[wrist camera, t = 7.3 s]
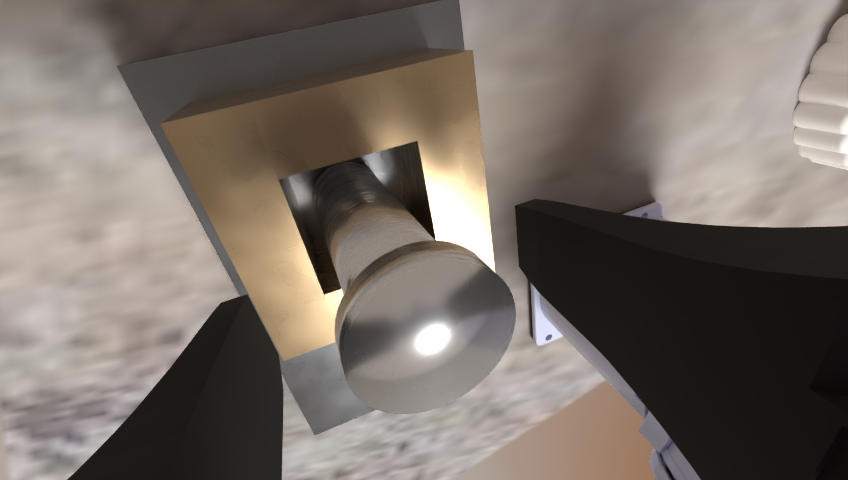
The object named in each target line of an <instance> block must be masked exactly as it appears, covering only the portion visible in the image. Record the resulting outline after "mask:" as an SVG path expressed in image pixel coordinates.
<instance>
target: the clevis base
mask: <svg viewBox="0 0 848 480" xmlns="http://www.w3.org/2000/svg"><path fill="white" fill-rule="evenodd" d="M117 67H118V69H119V71H120V73H121V75H122V77H123V78H124V80H125V82H126V84H127V86H128V88H129V90H130V91H131V93H132V95H133V97H134V99H135V101H136V103H137V105H138V106H139V108H140V110H141V112H142V114H143V116H144V118H145V119H146V121H147V123H148V125H149V127H150V129H151V131H152V133H153V134H154V136H155V138H156V140H157V142H158V144H159V146H160V147H161V149H162V151H163V153H164V155H165V157H166V159H167V161H168V162H169V164H170V166H171V168H172V170H173V172H174V174H175V175H176V177H177V179H178V181H179V183H180V185H181V187H182V188H183V190H184V192H185V194H186V196H187V198H188V200H189V202H190V203H191V205H192V207H193V209H194V211H195V213H196V215H197V216H198V218H199V220H200V222H201V224H202V226H203V228H204V230H205V231H206V233H207V235H208V237H209V239H210V241H211V243H212V244H213V246H214V248H215V250H216V252H217V254H218V256H219V258H220V259H221V261H222V263H223V265H224V267H225V269H226V271H227V272H228V274H229V276H230V278H231V280H232V282H233V284H234V286H235V287H236V289H237V291H238V293H239V295H240V296H243V295H246V294H248V296H249V298H250V300H251V302H252V304H253V306H254V308H255V310H256V312H257V314H258V315H259V317H260V319H261V321H262V323H263V325H264V327H265V329H266V331H267V333H268V335H269V337H270V339H271V340H272V342H273V344H274V346H275V348H276V350H277V352H278V354H279V359H280V367H281V373H282V375H283V377H284V379H285V381H286V383H287V384H288V386H289V388H290V390H291V392H292V394H293V396H294V397H295V399H296V401H297V403H298V405H299V407H300V409H301V410H302V412H303V414H304V416H305V418H306V420H307V422H308V424H309V425H310V427H311V429H312V431H313V433H314V435H317V434H319V433H321V432H324V431H326V430H329V429H331V428H333V427H336V426H338V425H341V424H343V423H345V422H348V421H350V420H352V419H355V418H357V417H360V416H362V415H364V414H367V413H369V412H372V411H374V410H376V409H374V408H372V407H370V406H368V405H367V404H365V403H364V402H362V401H361V400H360V399H359V398H358V397H357V396H356V395H354V393H353V392H352V390H351V389H350V388H349V386H348V383H347V381H346V379H345V375H344V371H343V367H342V364H341V360H340V356H339V352H338V348H337V344H336V340H335V331H334V327H335V318H336V314H337V310H338V307H339V304H340V302H341V299H342V297H343V296H344V294H343V292H342V289H341V286H340V283H339V280H338V277H337V274H336V271H335V268H334V265H333V262H332V259H331V256H330V253H329V250H328V247H327V244H326V241H325V238H324V236H323V233H322V230H321V227H320V224H319V221H318V218H317V215H316V212H315V209H314V206H313V202H312V191H313V187H314V184H315V182H316V180H317V178H318V177H319V176H320V174H321V173H322V172H323V171H325V170H326V169H327V168H329V167H330V166H332V165H335V164H338V163H342V162H354V163H358V164H361V165H363V166H365V167H367V168H368V169H370V170H371V171H372V172H373V173H374V174H375V175H376V176H377V177H378V179H379V180H380V181H381V182H382V183H383V184H384V185H385V186H386V187H387V188H388V189H389V191H390V192H391V193H392V194H393V195H394V196H395V197H396V198H397V199H398V200H399V201H400V203H401V204H402V205H403V206H404V207H405V208H406V209H407V210H408V211H409V212H410V213H411V215H412V216H413V217H414V218H415V219H416V220H417V221H418V222H419V223H420V224H421V225H422V227H423V228H424V229H425V230H426V231H427V232H428V233H429V234H430V235H431V236H432V237H433V239H434V240H440V241H447V242H452V243H456V244H459V245H461V246H463V247H466V248H468V249H469V250H471V251H472V252H474V253H475V254H476V255H477V256H478V257H479V258H480V259H481V260H482V261H484V262H485V263H486V264H487V265H488V266H489V267H490V268H491V269H492V270H493V271H494V272H495V267H494V257H493V247H492V237H491V227H490V217H489V207H488V198H487V188H486V178H485V168H484V158H483V148H482V138H481V129H480V119H479V109H478V99H477V89H476V79H475V69H474V60H473V50H464V41H463V32H462V23H461V14H460V5H459V0H440V1H435V2H430V3H425V4H420V5H415V6H410V7H405V8H400V9H395V10H390V11H385V12H381V13H376V14H371V15H366V16H361V17H356V18H351V19H346V20H341V21H336V22H331V23H326V24H321V25H316V26H311V27H307V28H302V29H297V30H292V31H287V32H282V33H277V34H272V35H267V36H262V37H257V38H252V39H247V40H242V41H238V42H233V43H228V44H223V45H218V46H213V47H208V48H203V49H198V50H193V51H188V52H183V53H178V54H173V55H169V56H164V57H159V58H154V59H149V60H144V61H139V62H134V63H129V64H124V65H119V66H117Z"/></svg>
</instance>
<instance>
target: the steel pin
mask: <svg viewBox="0 0 848 480" xmlns="http://www.w3.org/2000/svg"><path fill="white" fill-rule="evenodd" d="M312 202H313V206H314V209H315V212H316V215H317V218H318V221H319V224H320V227H321V230H322V233H323V236H324V238H325V241H326V244H327V247H328V250H329V253H330V256H331V259H332V262H333V265H334V268H335V271H336V274H337V277H338V280H339V283H340V286H341V289H342V292H343V294H344V296H343V297H342V299H341V302H340V304H339V307H338V310H337V314H336V318H335V327H334V331H335V340H336V344H337V348H338V352H339V356H340V360H341V364H342V367H343V371H344V375H345V379H346V381H347V383H348V386H349V388H350V389H351V390H352V392H353V393H354V395H356V396H357V397H358V398H359V399H360V400H361V401H362V402H364V403H365V404H367V405H368V406H370V407H372V408H374V409H377V410H380V411H383V412H388V413H395V414H411V413H419V412H424V411H428V410H432V409H435V408H438V407H441V406H443V405H446V404H448V403H450V402H452V401H454V400H456V399H458V398H459V397H461V396H463V395H465V394H466V393H467V392H469V391H470V390H472V389H473V388H474V387H476V386H477V385H478V384H479V383H480V382H481V381H483V380H484V379H485V378H486V377H487V376H488V375H489V374H490V372H491V371H492V370H493V369H494V368H495V366H496V365H497V364H498V362H499V361H500V360H501V358H502V357H503V355H504V353H505V351H506V349H507V347H508V345H509V343H510V341H511V338H512V334H513V331H514V326H515V317H516V311H515V303H514V299H513V296H512V294H511V291H510V289H509V287H508V286H507V285H506V283H505V282H504V281H503V280H502V279H501V278H500V277H499V276H498V275H497V274H496V273H495V272H494V271H493V270H492V269H491V268H490V267H489V266H488V265H487V264H486V263H485V262H484V261H482V260H481V259H480V258H479V257H478V256H477V255H476V254H475V253H474V252H472V251H471V250H469V249H468V248H466V247H463V246H461V245H459V244H456V243H452V242H447V241H440V240H434V239H433V237H432V236H431V235H430V234H429V233H428V232H427V231H426V230H425V229H424V228H423V227H422V225H421V224H420V223H419V222H418V221H417V220H416V219H415V218H414V217H413V216H412V215H411V213H410V212H409V211H408V210H407V209H406V208H405V207H404V206H403V205H402V204H401V203H400V201H399V200H398V199H397V198H396V197H395V196H394V195H393V194H392V193H391V192H390V191H389V189H388V188H387V187H386V186H385V185H384V184H383V183H382V182H381V181H380V180H379V179H378V177H377V176H376V175H375V174H374V173H373V172H372V171H371V170H370V169H368V168H367V167H365V166H363V165H361V164H358V163H354V162H342V163H338V164H335V165H332V166H330V167H329V168H327V169H326V170H325V171H323V172H322V173H321V174H320V176H319V177H318V178H317V180H316V182H315V184H314V187H313V191H312Z"/></svg>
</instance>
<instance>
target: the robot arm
mask: <svg viewBox="0 0 848 480" xmlns="http://www.w3.org/2000/svg"><path fill="white" fill-rule="evenodd" d="M515 210H516V226H517V242H518V258H519V267H520V269H521V270H522V271H523V273H524V274H525V275H526V277H527V278H528V279H529V281H530V282H531V303H532V325H533V341H534V342H535V343H536V344H537V345H539V346H540V345H544V344H546V343H548V342H551V341H553V340H556V339H558V338H560V337H563V336H564V337H565V338H566V339H567V340H568V341H569V342H570V344H571V345H572V346H573V347H574V348H575V349H576V350H577V351H578V352H579V353H580V354H581V355H582V356H583V357H584V358H585V359H586V360H587V361H588V362H589V363H590V364H591V365H592V366H593V367H594V368H595V369H596V370H597V371H598V372H599V373H600V374H601V375H602V376H603V377H604V378H605V379H606V380H607V381H608V382H609V383H610V384H611V385H612V386H613V387H614V388H615V390H617V392H618V393H619V394H620V395H621V396H622V397H623V398H624V399H625V400H626V401H627V402H628V403H629V404H630V405H631V406H632V407H633V408H634V409H635V410H636V411H637V412H638V413H639V414H640V415H641V416H642V417H643V418H644V419H645V420H644V422H643V424H642V425H641V426H640V428H639V432H640V433H641V434H642V435H643V436H644V437H645V438H646V439H647V440H648V441H649V442H650V443H651V445H652V446H653V447H654V449H653V450H652V451H651V453H650V457H649V460H650V466H651V469H652V471H653V474H654V477H655V480H848V226H837V227H801V228H768V227H733V226H715V225H702V224H691V223H680V222H671V221H669V220H666V219H664V218H662V215H663V205H662V204H659V203H657V202H655V203H652V204H649V205H646V206H643V207H640V208H638V209H635V210H632V211H629V212H627V213H624V214H617V213H612V212H607V211H601V210H596V209H591V208H586V207H581V206H576V205H571V204H566V203H560V202H554V201H548V200H538V199H534V200H531V201H528V202H525V203H522V204H519V205H516V206H515ZM282 438H283V384H282V375H281V367H280V359H279V354H278V352H277V350H276V348H275V346H274V344H273V342H272V340H271V339H270V337H269V335H268V333H267V331H266V329H265V327H264V325H263V323H262V321H261V319H260V317H259V315H258V314H257V312H256V310H255V308H254V306H253V304H252V302H251V300H250V298H249V296H248V294H246V295H243V296H240V297H237V298H234V299H231V300H228V301H225V302H222V303H220V305H219V306H218V307H217V308H216V309H215V310H214V312H213V313H212V314H211V315H210V317H209V318H208V319H207V321H206V322H205V323H204V325H203V326H202V327H201V329H200V330H199V331H198V333H197V334H196V335H195V337H194V338H193V339H192V340H191V342H190V343H189V344H188V346H187V347H186V348H185V350H184V351H183V352H182V353H181V355H180V356H179V357H178V359H177V360H176V361H175V363H174V364H173V365H172V366H171V368H170V369H169V370H168V371H167V373H166V374H165V375H164V376H163V377H162V379H161V380H160V381H159V382H158V383H157V384H156V386H155V387H154V388H153V389H152V390H151V392H150V393H149V394H148V395H147V396H146V398H145V399H144V400H143V401H142V402H141V404H140V405H139V406H138V407H137V408H136V410H135V411H134V412H133V413H132V414H131V415H130V416H129V417H128V418H127V420H126V421H125V422H124V423H123V424H122V425H121V426H120V427H119V428H118V429H117V430H116V431H115V433H114V434H113V435H112V436H111V437H110V438H109V439H108V440H107V441H106V442H105V443H104V444H103V445H102V446H101V447H100V448H99V449H98V450H97V451H96V452H95V453H94V454H93V455H92V456H91V457H90V458H89V459H88V460H87V461H86V462H85V463H84V464H83V465H82V466H81V467H80V468H79V469H78V470H77V471H76V472H75V473H74V474H73V475H72V476H71V477H70V478H69V479H68V480H282Z"/></svg>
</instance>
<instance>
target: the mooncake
mask: <svg viewBox="0 0 848 480" xmlns="http://www.w3.org/2000/svg"><path fill="white" fill-rule="evenodd" d="M809 72H810V73H809V74H808V75H807V77H806V78H805V79H804V81H803V82H802V84H801V86H800V89H799V92H798V100H799V104H798V105H797V107H796V109H795V111H794V113H793V118H792V121H793V124H794V125H795V126H796V128H795V130H794V133H793V142H794V143H795V144H797V145H799V149H798V152H799V155H801V156H803V157H807V158H809V160H810V161H812V162H815V163H820V164H824V165H829V166H833V167H837V168H842V169H846V170H848V13H847V14H845V15H843V16H841V17H840V18H839V19H838V20H837V21H836V22H835V23H834V25H833V26H832V28H831V30H830V32H829V34H828V36H827V40H826V43H825V44H823V45H822V46H821V47H820V48H819V49H818V50H817V52H816V53H815V55H814V57H813V59H812V61H811V64H810V69H809Z"/></svg>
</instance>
